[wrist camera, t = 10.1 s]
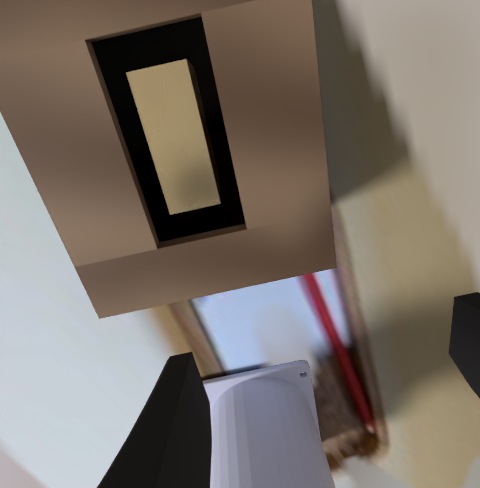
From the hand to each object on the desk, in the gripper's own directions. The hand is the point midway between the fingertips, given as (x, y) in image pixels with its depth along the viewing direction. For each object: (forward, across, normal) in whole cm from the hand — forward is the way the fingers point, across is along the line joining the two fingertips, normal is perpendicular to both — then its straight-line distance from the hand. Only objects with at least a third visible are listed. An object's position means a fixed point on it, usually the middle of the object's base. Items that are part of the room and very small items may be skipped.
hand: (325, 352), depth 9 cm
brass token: (+11, +3, -5) cm, 12 cm away
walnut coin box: (+10, +3, -5) cm, 12 cm away
